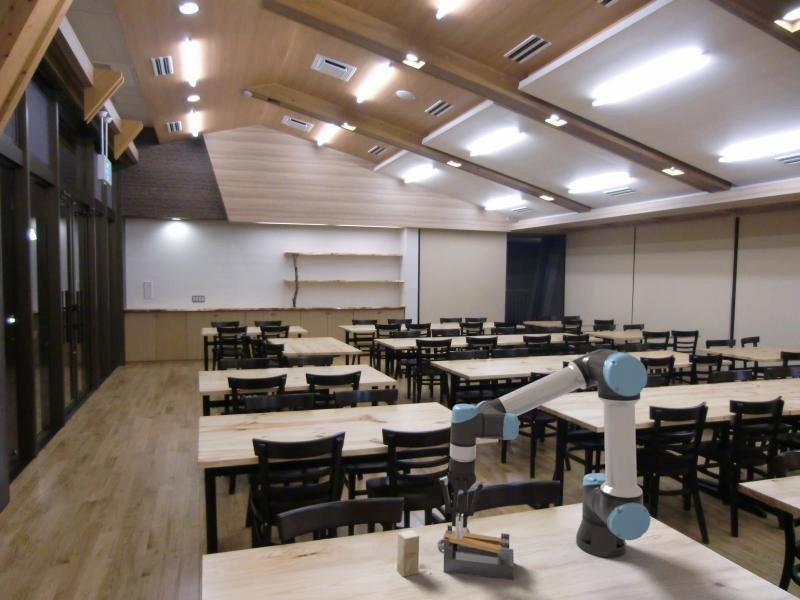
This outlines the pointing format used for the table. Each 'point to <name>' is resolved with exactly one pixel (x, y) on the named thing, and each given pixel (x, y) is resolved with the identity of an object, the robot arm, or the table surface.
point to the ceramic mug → (465, 530)
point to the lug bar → (448, 545)
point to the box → (408, 553)
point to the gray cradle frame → (482, 561)
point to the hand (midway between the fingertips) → (458, 537)
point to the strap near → (474, 543)
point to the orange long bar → (481, 538)
